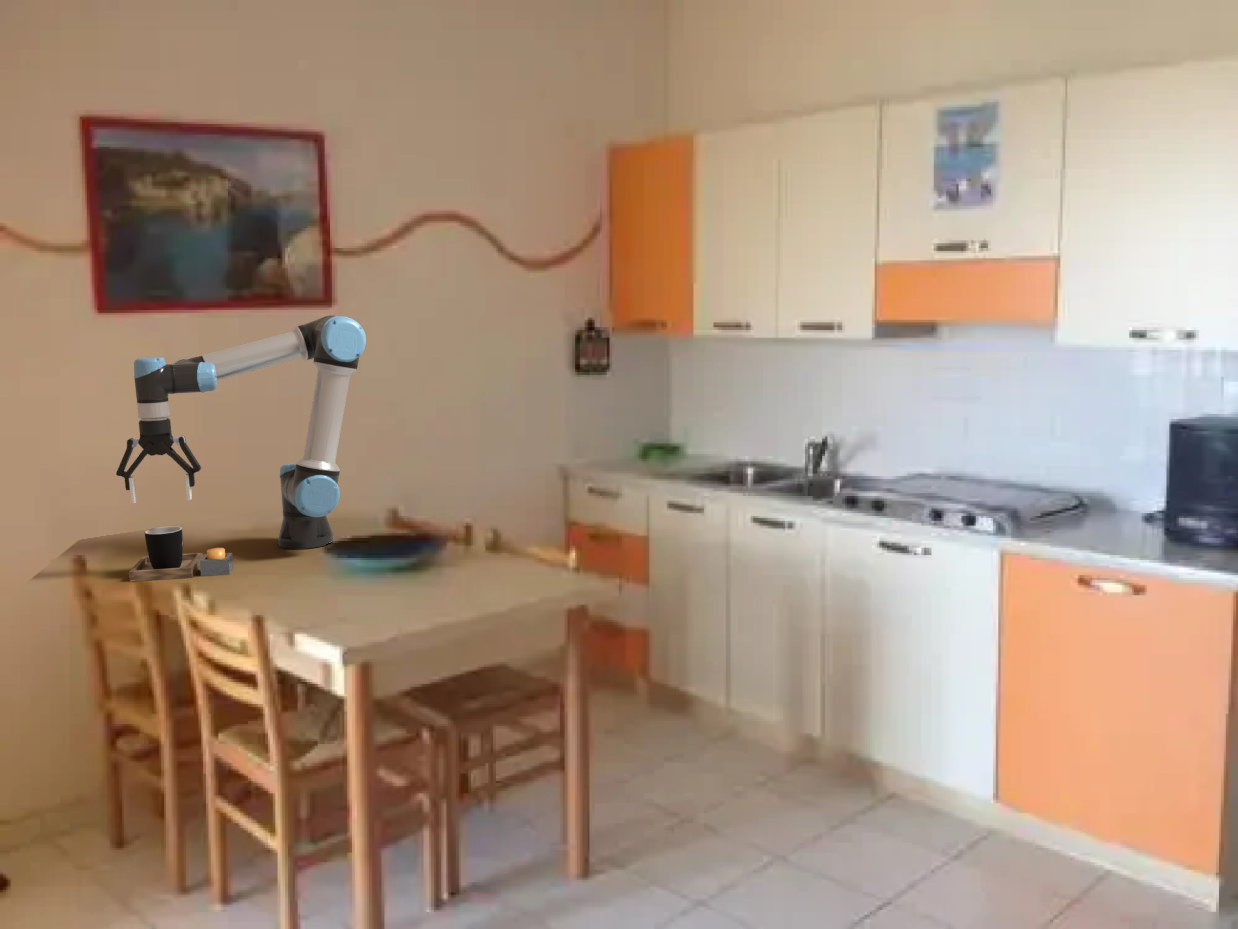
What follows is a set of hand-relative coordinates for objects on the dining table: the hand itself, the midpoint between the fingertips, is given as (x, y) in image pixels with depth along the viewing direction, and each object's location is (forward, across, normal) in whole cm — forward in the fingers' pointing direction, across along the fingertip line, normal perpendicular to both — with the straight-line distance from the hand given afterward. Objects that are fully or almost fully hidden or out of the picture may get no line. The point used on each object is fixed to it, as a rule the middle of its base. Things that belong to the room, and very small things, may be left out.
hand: (161, 501), depth 309 cm
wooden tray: (+18, 0, 0) cm, 19 cm away
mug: (+18, +1, 0) cm, 18 cm away
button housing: (+19, -13, +4) cm, 23 cm away
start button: (+18, -13, +4) cm, 22 cm away
